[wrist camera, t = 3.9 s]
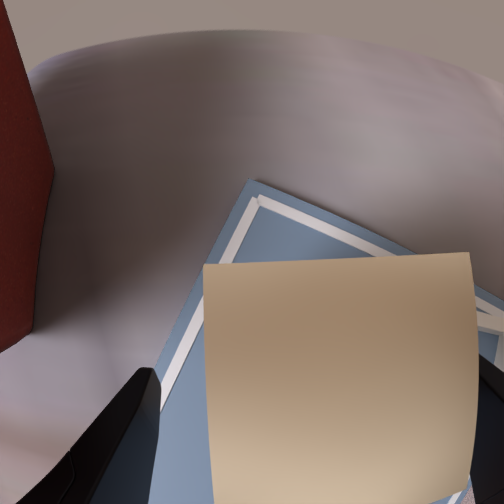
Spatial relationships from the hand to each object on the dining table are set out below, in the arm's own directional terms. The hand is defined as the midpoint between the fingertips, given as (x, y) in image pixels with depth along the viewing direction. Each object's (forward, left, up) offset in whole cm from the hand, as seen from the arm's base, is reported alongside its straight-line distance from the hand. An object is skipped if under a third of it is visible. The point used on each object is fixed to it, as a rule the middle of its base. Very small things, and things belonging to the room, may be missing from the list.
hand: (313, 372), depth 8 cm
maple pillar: (0, 0, -7) cm, 8 cm away
